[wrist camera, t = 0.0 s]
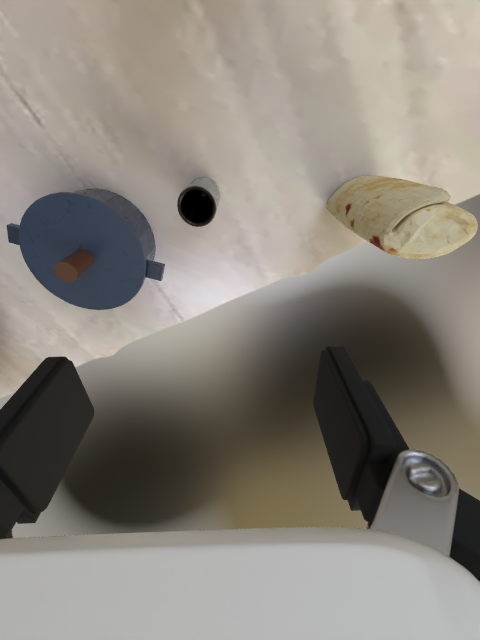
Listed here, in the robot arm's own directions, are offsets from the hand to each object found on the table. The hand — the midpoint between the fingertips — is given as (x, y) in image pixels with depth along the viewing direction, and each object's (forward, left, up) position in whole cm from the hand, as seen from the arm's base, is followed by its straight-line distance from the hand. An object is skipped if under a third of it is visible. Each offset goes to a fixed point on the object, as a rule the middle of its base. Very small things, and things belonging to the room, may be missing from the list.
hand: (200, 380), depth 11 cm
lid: (-7, -19, -30) cm, 36 cm away
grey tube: (-3, -2, -38) cm, 38 cm away
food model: (+11, +16, -38) cm, 42 cm away
